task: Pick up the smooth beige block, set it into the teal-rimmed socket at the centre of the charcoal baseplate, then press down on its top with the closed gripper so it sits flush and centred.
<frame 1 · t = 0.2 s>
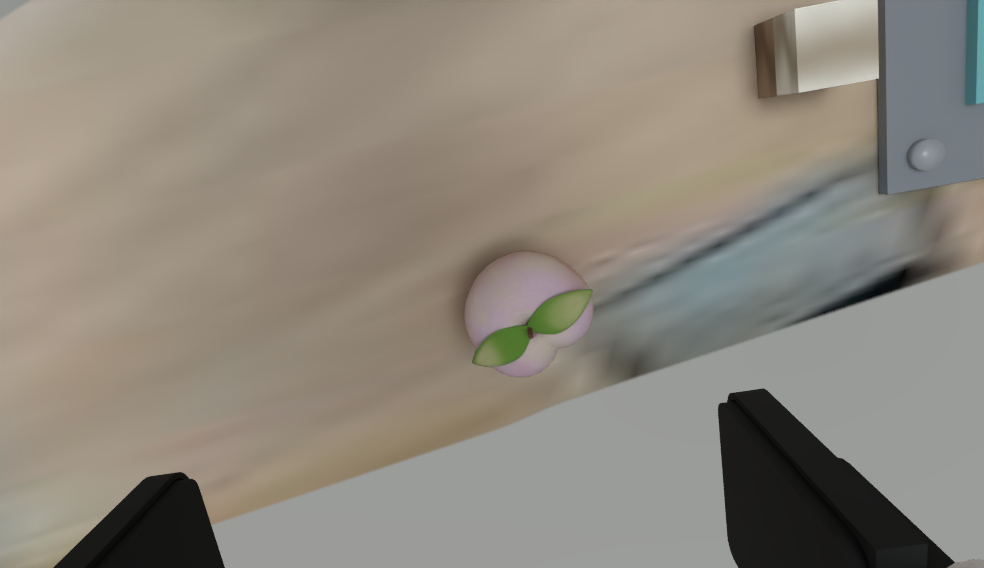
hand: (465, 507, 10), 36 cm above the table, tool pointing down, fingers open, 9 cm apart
smooth beige block: (790, 56, 43), on the table
decorative fruit: (521, 291, 47), on the table
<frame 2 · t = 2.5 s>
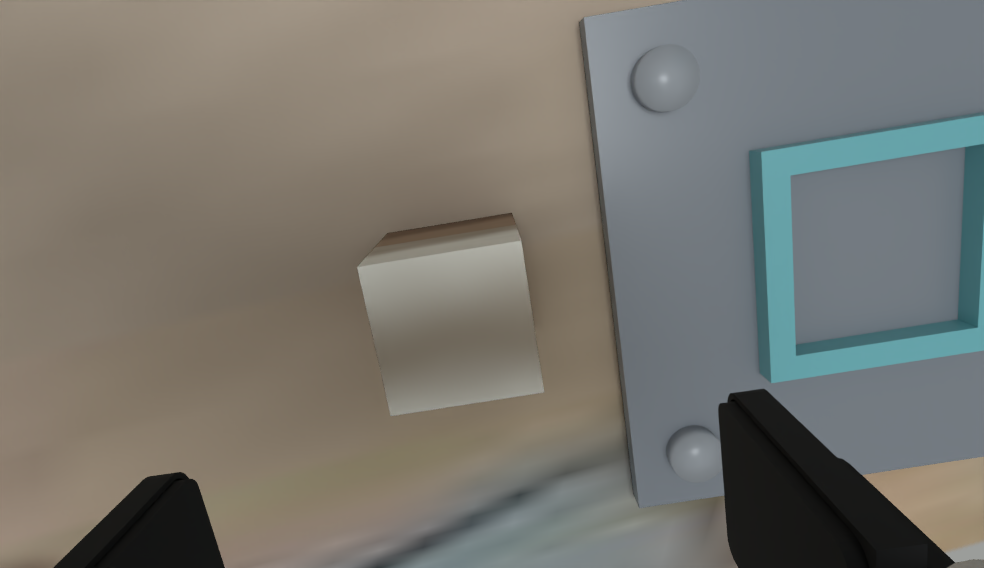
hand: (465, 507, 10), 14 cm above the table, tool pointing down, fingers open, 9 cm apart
baseplate: (854, 244, 24), on the table
smooth beige block: (460, 282, 24), on the table
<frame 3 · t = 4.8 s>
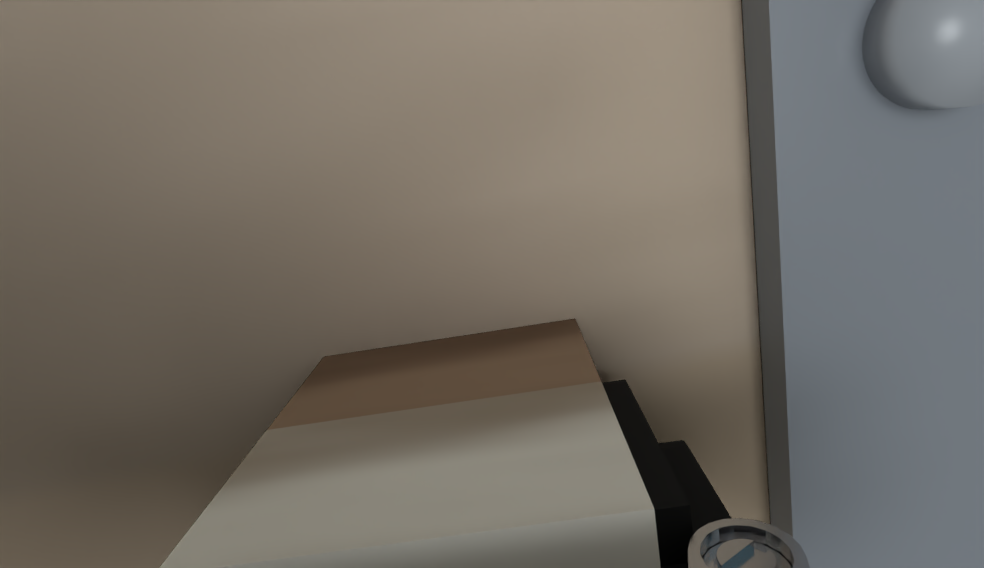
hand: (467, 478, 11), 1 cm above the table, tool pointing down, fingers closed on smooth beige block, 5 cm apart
smooth beige block: (469, 451, 12), on the table, touching gripper
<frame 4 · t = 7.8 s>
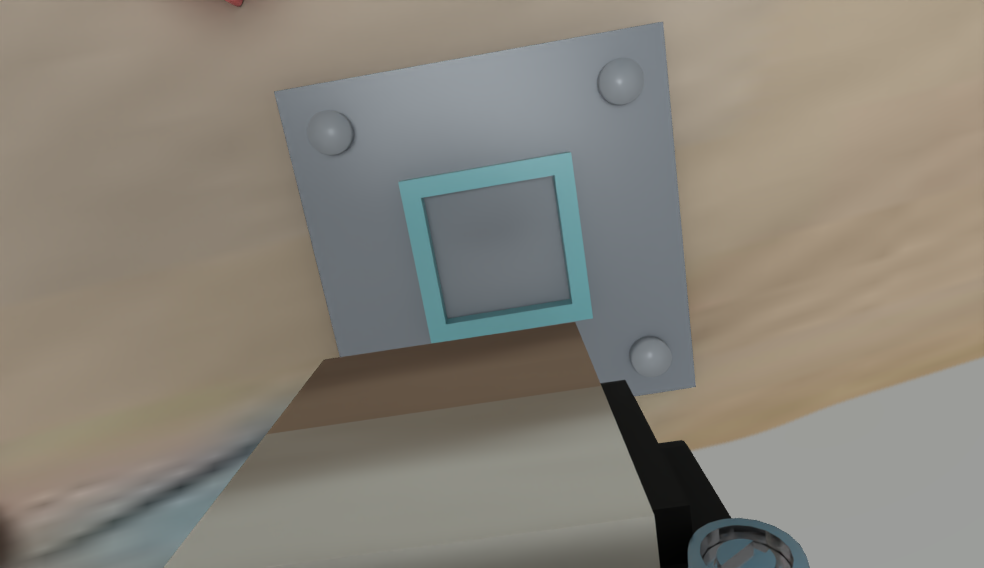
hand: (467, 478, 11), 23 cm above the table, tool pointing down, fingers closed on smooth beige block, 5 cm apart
baseplate: (498, 245, 33), on the table
smooth beige block: (469, 454, 12), point 22 cm above the table, touching gripper
when the fingers open (3 cm above the table, at t = 11.1 s): smooth beige block drops 1 cm, resting on baseplate.
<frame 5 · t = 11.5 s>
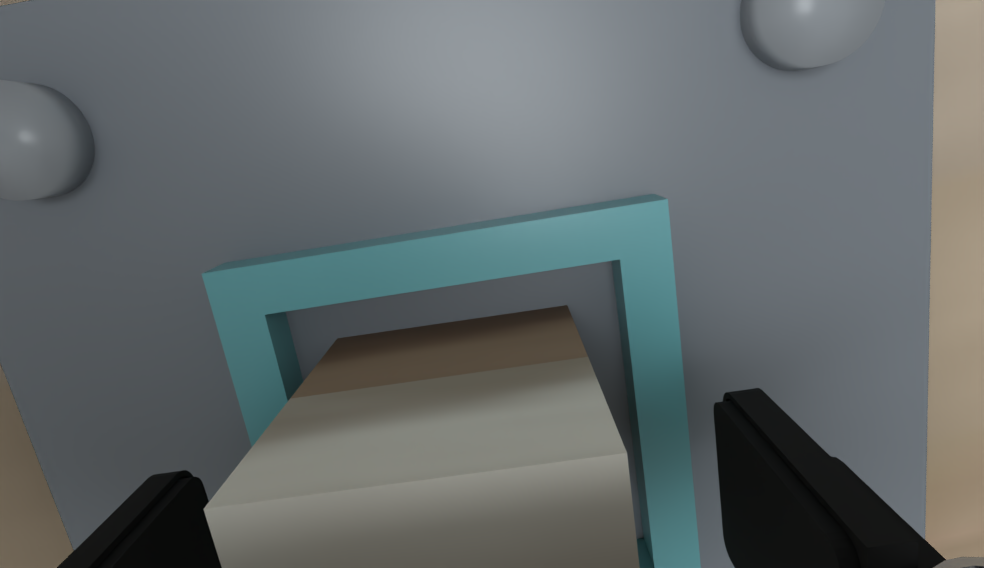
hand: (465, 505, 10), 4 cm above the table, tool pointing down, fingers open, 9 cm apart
baseplate: (474, 405, 14), on the table
smooth beige block: (470, 426, 13), point 1 cm above the table, touching baseplate
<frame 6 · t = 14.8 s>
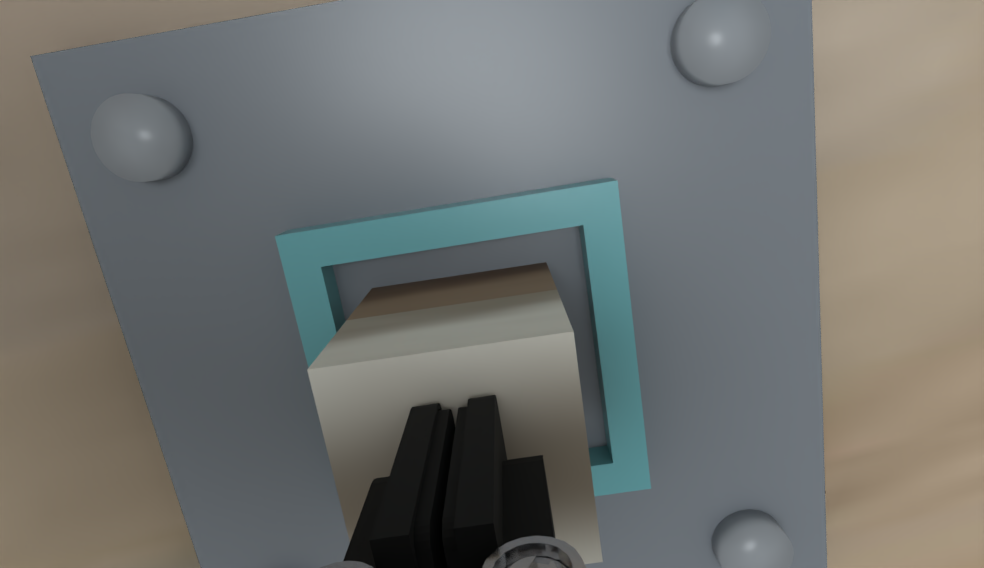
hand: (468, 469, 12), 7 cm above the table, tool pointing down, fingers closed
baseplate: (475, 344, 18), on the table
smooth beige block: (472, 357, 17), point 1 cm above the table, touching baseplate, gripper
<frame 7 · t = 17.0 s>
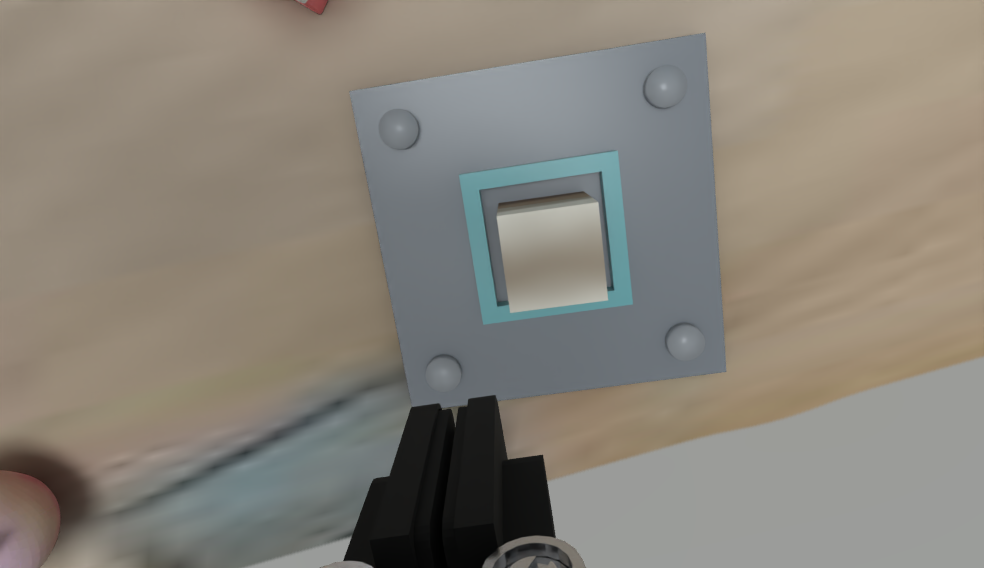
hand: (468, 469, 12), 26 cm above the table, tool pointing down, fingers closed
baseplate: (545, 235, 36), on the table
smooth beige block: (546, 238, 35), point 1 cm above the table, touching baseplate
decorative fruit: (36, 491, 42), on the table
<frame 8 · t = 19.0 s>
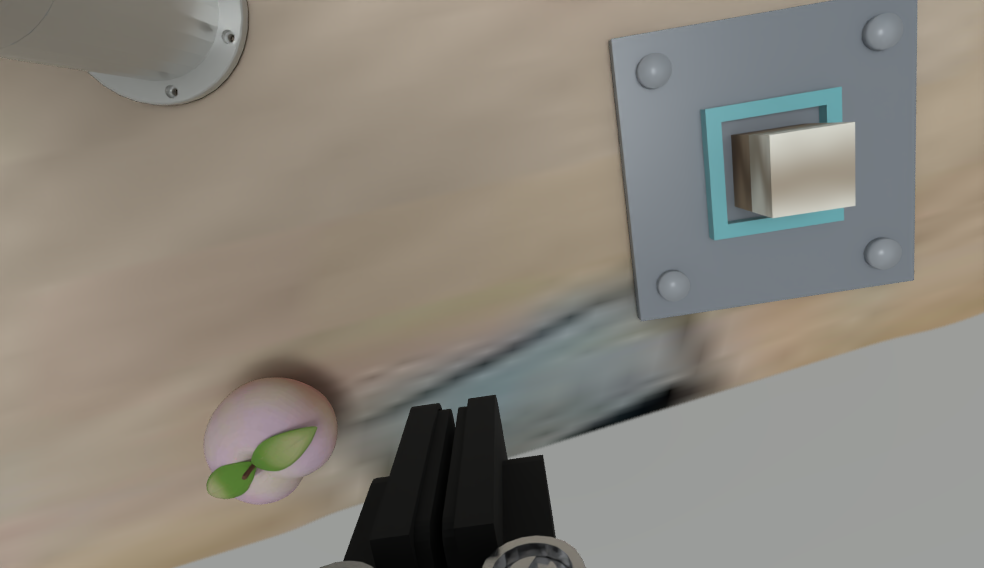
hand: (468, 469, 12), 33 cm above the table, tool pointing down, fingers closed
baseplate: (763, 164, 42), on the table
smooth beige block: (768, 165, 41), point 1 cm above the table, touching baseplate
decorative fruit: (293, 403, 48), on the table
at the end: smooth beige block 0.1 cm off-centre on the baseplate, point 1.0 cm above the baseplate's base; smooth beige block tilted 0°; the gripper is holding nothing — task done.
